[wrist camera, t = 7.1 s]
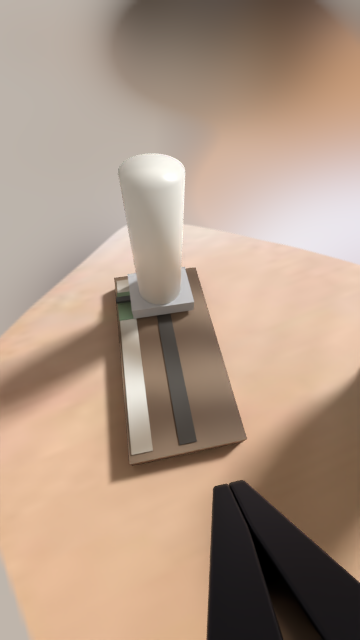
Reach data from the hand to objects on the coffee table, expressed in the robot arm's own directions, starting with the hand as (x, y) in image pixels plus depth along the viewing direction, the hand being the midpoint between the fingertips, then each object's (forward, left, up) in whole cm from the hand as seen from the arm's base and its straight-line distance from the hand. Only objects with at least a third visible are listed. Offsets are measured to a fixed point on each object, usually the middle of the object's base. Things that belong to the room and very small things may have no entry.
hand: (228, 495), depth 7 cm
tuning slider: (+15, +2, -11) cm, 18 cm away
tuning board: (+10, +1, -13) cm, 16 cm away
